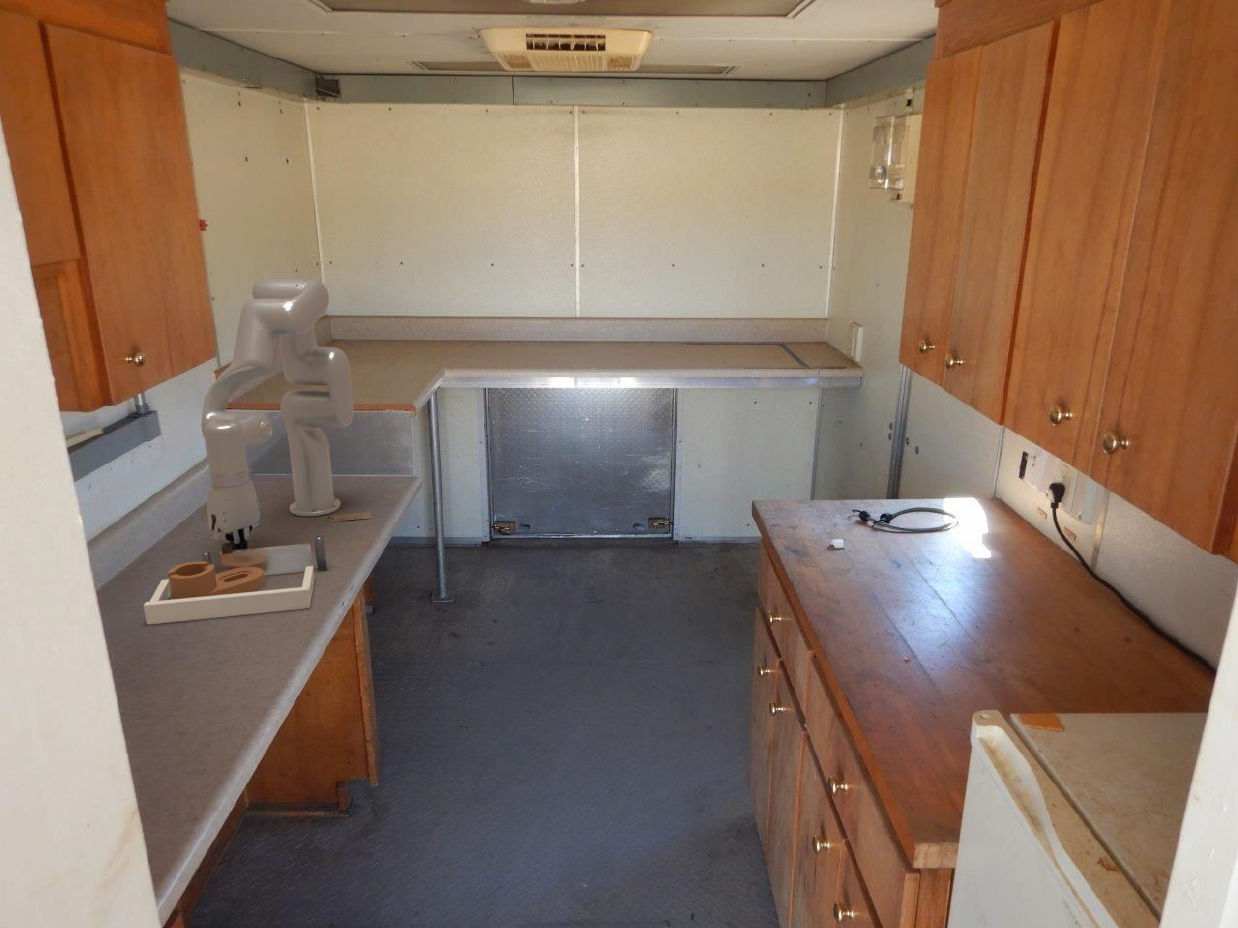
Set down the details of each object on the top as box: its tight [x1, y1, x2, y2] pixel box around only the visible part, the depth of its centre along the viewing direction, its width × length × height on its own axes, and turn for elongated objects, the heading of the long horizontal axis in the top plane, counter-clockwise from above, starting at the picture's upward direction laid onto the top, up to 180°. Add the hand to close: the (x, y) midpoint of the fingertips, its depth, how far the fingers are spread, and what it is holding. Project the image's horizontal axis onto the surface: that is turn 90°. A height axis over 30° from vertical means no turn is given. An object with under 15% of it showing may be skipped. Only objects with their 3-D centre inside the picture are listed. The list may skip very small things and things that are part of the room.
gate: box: [219, 542, 314, 577], centre depth 188 cm, size 18×2×8 cm, turn 105°
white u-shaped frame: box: [143, 565, 316, 625], centre depth 176 cm, size 14×30×4 cm, turn 105°
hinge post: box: [313, 534, 328, 572], centre depth 190 cm, size 2×2×8 cm
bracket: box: [167, 560, 266, 600], centre depth 179 cm, size 18×8×7 cm, turn 135°
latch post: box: [201, 550, 212, 565], centre depth 186 cm, size 2×2×6 cm
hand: (240, 557), depth 191 cm, fingers closed
